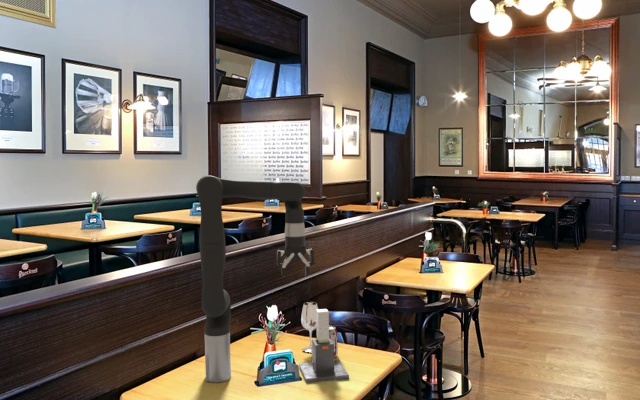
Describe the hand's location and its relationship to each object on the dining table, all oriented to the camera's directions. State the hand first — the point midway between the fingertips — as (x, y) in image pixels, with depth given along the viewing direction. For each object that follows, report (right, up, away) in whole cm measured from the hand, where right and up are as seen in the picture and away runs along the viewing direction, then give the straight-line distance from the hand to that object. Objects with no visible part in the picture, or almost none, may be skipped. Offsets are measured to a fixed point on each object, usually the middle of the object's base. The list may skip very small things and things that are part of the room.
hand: (295, 276), depth 218 cm
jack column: (+10, -28, -2) cm, 30 cm away
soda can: (+13, -35, +16) cm, 41 cm away
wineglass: (+5, -35, +24) cm, 42 cm away
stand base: (+10, -36, -1) cm, 38 cm away
